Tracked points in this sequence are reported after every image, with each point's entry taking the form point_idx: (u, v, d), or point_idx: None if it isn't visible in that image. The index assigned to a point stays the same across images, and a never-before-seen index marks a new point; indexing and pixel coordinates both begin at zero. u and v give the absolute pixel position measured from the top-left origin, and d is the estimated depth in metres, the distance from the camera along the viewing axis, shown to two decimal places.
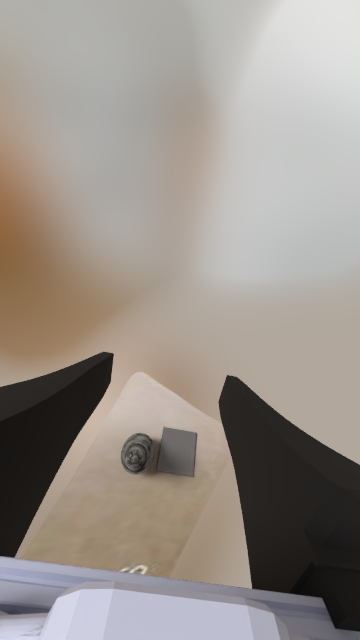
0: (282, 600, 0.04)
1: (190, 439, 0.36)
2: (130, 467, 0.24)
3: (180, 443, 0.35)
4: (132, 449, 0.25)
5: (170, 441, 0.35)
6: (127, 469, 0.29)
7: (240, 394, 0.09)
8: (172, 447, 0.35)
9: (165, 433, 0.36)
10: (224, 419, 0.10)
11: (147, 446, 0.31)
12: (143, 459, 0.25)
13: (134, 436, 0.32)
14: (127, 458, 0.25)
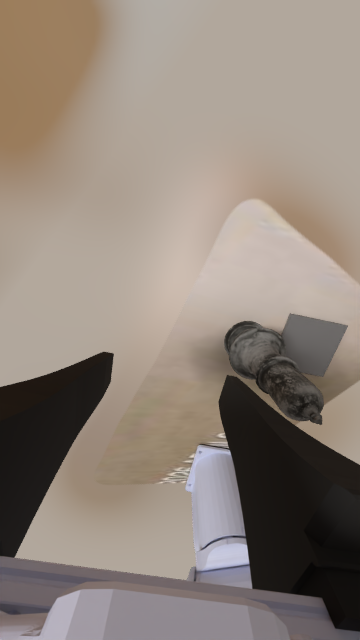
0: (282, 600, 0.04)
1: (334, 334, 0.21)
2: (294, 418, 0.11)
3: (315, 338, 0.21)
4: (300, 391, 0.11)
5: (299, 334, 0.21)
6: (240, 373, 0.18)
7: (240, 394, 0.09)
8: (300, 341, 0.21)
9: (293, 322, 0.20)
10: (224, 419, 0.10)
11: (278, 350, 0.17)
12: None
13: (253, 333, 0.17)
14: (289, 405, 0.11)
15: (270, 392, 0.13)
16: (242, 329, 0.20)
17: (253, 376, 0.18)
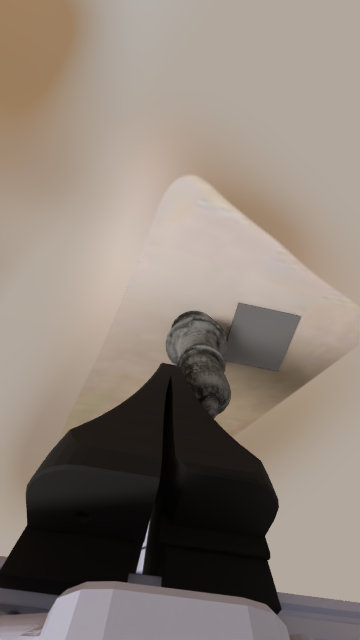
0: (282, 600, 0.04)
1: (286, 325, 0.19)
2: None
3: (266, 329, 0.19)
4: (200, 382, 0.09)
5: (249, 325, 0.19)
6: None
7: (170, 381, 0.08)
8: (251, 333, 0.20)
9: (242, 312, 0.19)
10: None
11: (215, 340, 0.16)
12: (228, 400, 0.10)
13: (188, 321, 0.16)
14: None
15: None
16: None
17: None
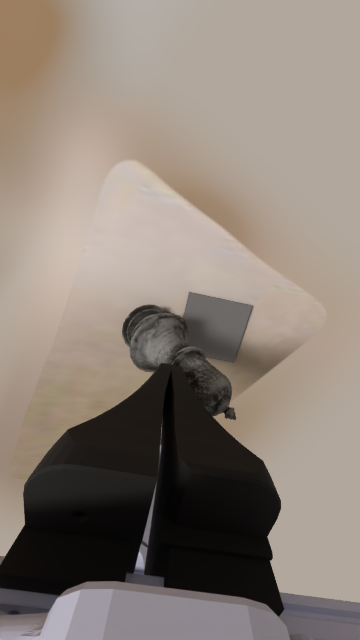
0: (282, 600, 0.04)
1: (238, 315, 0.19)
2: None
3: (219, 319, 0.19)
4: (213, 389, 0.09)
5: (200, 315, 0.19)
6: (147, 369, 0.15)
7: (171, 381, 0.08)
8: (203, 323, 0.19)
9: (193, 302, 0.19)
10: (163, 408, 0.10)
11: (182, 335, 0.15)
12: None
13: (154, 321, 0.14)
14: None
15: None
16: (141, 316, 0.17)
17: None
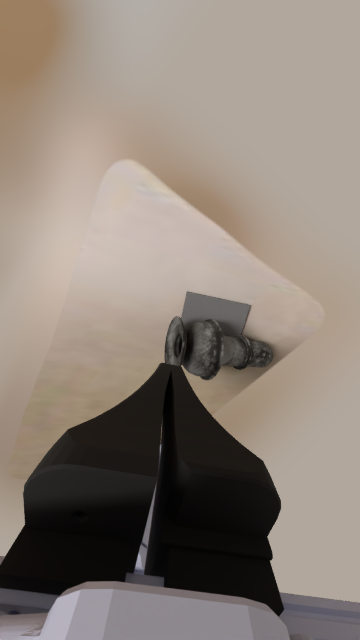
0: (282, 600, 0.04)
1: (236, 314, 0.19)
2: None
3: (217, 319, 0.19)
4: (271, 350, 0.18)
5: (198, 315, 0.19)
6: None
7: (171, 381, 0.08)
8: None
9: (191, 301, 0.19)
10: (163, 408, 0.10)
11: None
12: None
13: None
14: (270, 360, 0.18)
15: (258, 364, 0.18)
16: None
17: None
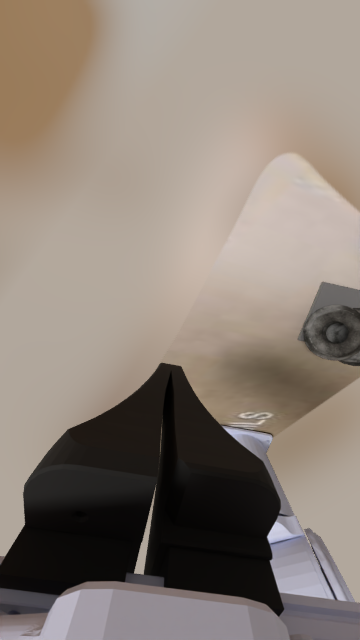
0: (282, 600, 0.04)
1: None
2: None
3: None
4: None
5: None
6: (354, 363, 0.17)
7: (171, 381, 0.08)
8: None
9: (325, 291, 0.19)
10: (163, 408, 0.10)
11: None
12: None
13: None
14: None
15: None
16: (356, 321, 0.15)
17: None
